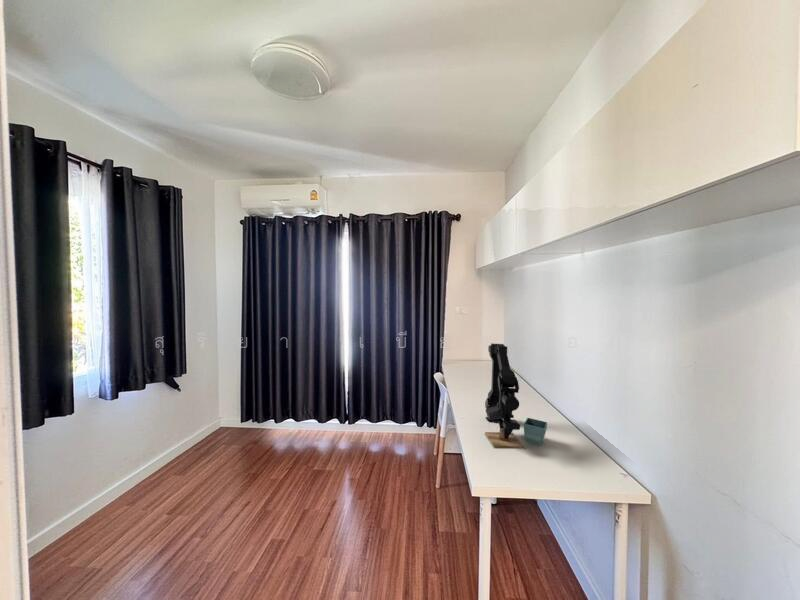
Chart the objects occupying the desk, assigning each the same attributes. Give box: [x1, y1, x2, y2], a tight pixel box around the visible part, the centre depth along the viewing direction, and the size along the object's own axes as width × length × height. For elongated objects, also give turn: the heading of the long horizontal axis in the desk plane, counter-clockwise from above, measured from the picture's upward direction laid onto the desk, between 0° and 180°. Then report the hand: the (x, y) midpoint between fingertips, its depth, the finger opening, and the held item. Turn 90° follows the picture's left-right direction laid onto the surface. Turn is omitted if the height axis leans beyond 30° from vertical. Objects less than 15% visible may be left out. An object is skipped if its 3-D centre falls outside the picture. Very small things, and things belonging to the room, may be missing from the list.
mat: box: [483, 433, 526, 450], centre depth 152 cm, size 14×14×1 cm
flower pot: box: [523, 417, 548, 446], centre depth 152 cm, size 9×9×9 cm
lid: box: [484, 428, 525, 448], centre depth 151 cm, size 13×13×5 cm
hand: (504, 436), depth 151 cm, fingers closed on lid, 4 cm apart
